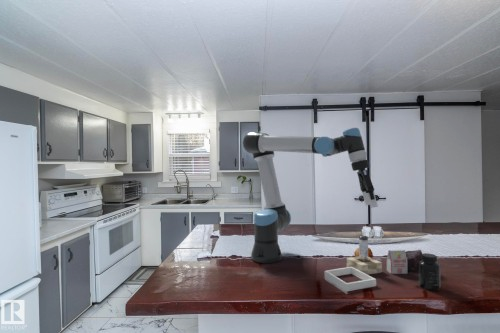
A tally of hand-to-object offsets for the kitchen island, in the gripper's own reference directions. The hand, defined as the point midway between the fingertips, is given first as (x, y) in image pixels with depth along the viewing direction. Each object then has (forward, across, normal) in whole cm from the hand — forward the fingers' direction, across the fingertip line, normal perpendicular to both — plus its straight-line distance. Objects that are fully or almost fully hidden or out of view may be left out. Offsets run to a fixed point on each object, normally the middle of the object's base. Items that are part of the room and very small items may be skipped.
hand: (371, 206), depth 132 cm
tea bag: (+29, -8, -1) cm, 30 cm away
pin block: (+26, -8, +11) cm, 29 cm away
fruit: (+25, +6, +9) cm, 28 cm away
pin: (+25, -8, +11) cm, 28 cm away
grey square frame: (+25, -22, +19) cm, 38 cm away
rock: (+30, -3, -9) cm, 31 cm away
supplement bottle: (+31, -20, -9) cm, 38 cm away
